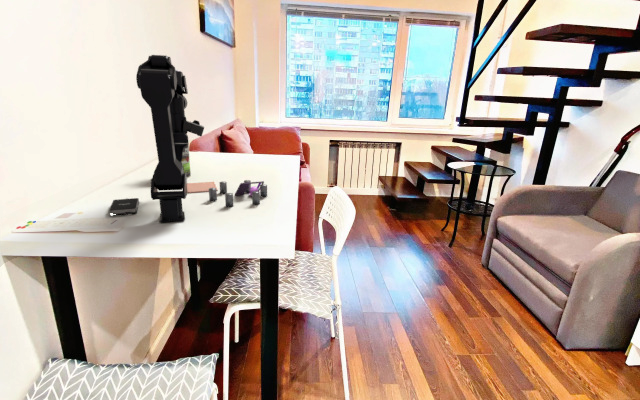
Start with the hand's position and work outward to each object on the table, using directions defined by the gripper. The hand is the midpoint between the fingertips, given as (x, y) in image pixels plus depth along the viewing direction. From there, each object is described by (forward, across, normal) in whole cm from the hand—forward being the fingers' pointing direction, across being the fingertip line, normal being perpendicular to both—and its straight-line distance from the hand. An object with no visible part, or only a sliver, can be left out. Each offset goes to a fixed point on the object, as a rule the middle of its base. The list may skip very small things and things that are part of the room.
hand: (179, 161), depth 115 cm
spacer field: (+12, -8, -18) cm, 23 cm away
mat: (+12, +8, -7) cm, 16 cm away
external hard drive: (+13, -10, +16) cm, 23 cm away
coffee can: (+12, +27, +1) cm, 30 cm away
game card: (+10, -8, -18) cm, 22 cm away
